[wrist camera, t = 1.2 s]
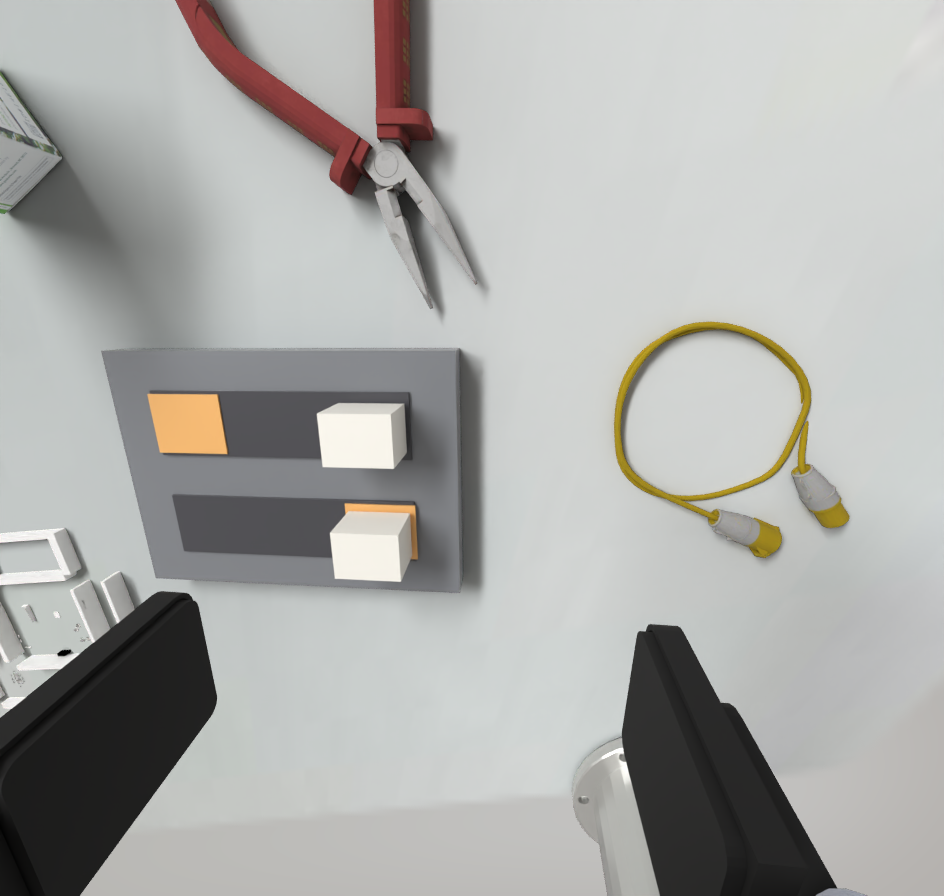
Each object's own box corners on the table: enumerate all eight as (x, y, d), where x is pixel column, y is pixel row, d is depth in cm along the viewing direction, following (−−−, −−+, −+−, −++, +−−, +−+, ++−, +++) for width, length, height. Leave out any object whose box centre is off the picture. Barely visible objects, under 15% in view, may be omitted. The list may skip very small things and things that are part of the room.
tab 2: (410, 513, 28) (398, 535, 25) (412, 555, 29) (400, 581, 26) (348, 511, 28) (329, 532, 26) (352, 552, 29) (334, 578, 26)
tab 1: (404, 403, 26) (390, 414, 23) (406, 452, 27) (393, 468, 24) (338, 402, 26) (316, 413, 24) (342, 451, 27) (322, 467, 24)
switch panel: (459, 348, 27) (454, 350, 25) (463, 576, 32) (459, 595, 30) (128, 348, 29) (96, 351, 27) (176, 563, 34) (152, 580, 32)
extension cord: (648, 572, 31) (656, 589, 29) (586, 355, 27) (592, 359, 25) (837, 526, 29) (860, 541, 27) (799, 283, 25) (823, 281, 23)
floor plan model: (79, 446, 32) (52, 454, 30) (183, 716, 39) (166, 736, 37) (-132, 469, 35) (-169, 478, 33) (1, 720, 42) (-23, 739, 40)
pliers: (373, 344, 28) (359, 346, 26) (174, -15, 24) (133, -57, 21) (547, 246, 26) (551, 238, 23) (361, -173, 21) (340, -242, 19)
